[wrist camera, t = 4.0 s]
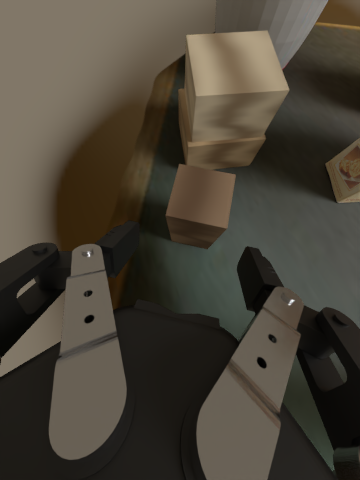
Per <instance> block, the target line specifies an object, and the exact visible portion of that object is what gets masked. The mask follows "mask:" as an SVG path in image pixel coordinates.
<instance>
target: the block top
mask: <svg viewBox="0 0 360 480" xmlns="http://www.w3.org/2000/svg"><path fill="white" fill-rule="evenodd" d="M288 92H289V88H288V85H287V82H286V79H285V77H284V74H283V71H282V69H281V66H280V63H279V60H278V58H277V55H276V52H275V49H274V47H273V44H272V41H271V38H270V36H269V33H268V31H249V32H231V33H213V34H195V35H186V61H185V96H186V104H187V111H188V118H189V125H190V133H191V140H192V142H204V141H218V140H231V139H245V138H258V137H262V136H263V134H264V133H265V131H266V129H267V127H268V126H269V124H270V122H271V121H272V119H273V117H274V116H275V114H276V112H277V110H278V109H279V107H280V105H281V104H282V102H283V100H284V99H285V97H286V95H287V93H288Z"/></svg>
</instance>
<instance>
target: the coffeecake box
mask: <svg viewBox="0 0 360 480" xmlns="http://www.w3.org/2000/svg"><path fill="white" fill-rule="evenodd" d="M325 165H326V168H327V171H328V174H329V177H330V180H331V184H332V188H333V192H334V195H335V198H336V201H337V203H345V202H360V138H359V139H357V140H356V141H355V142H354V143H352V144H351V145H350V146H348V147H347V148H346V149H344V150H343V151H342V152H341V153H339V154H338V155H337V156H335V157H334V158H333V159H331V160H330V161H329V162H327V163H326V164H325Z"/></svg>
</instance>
